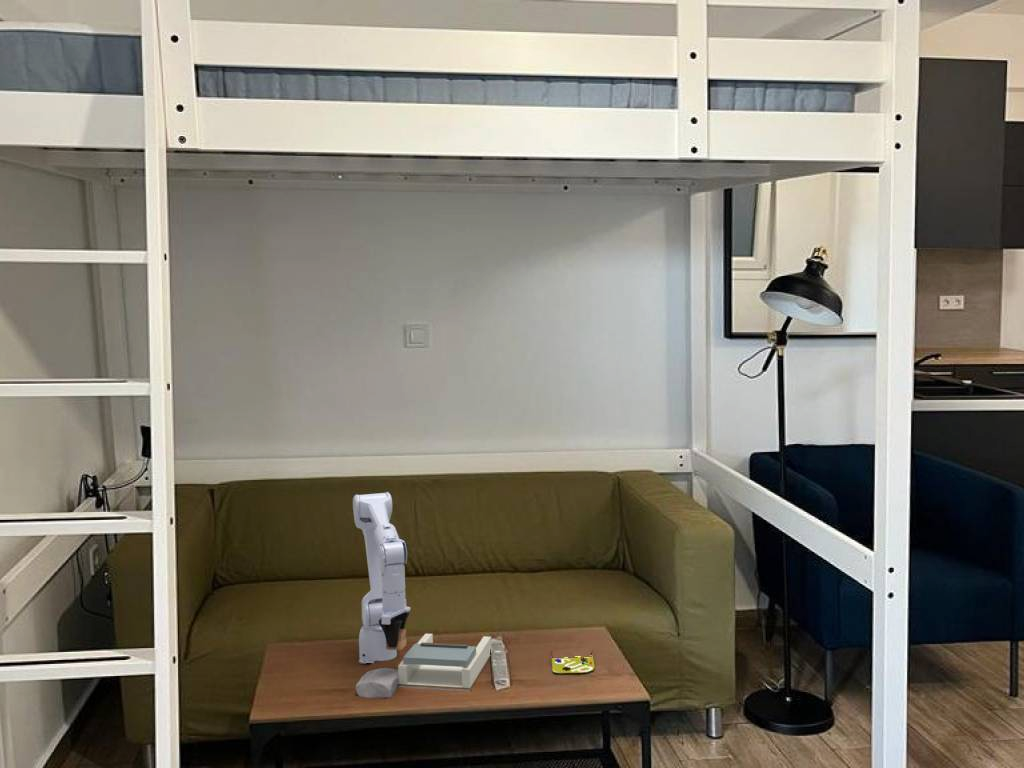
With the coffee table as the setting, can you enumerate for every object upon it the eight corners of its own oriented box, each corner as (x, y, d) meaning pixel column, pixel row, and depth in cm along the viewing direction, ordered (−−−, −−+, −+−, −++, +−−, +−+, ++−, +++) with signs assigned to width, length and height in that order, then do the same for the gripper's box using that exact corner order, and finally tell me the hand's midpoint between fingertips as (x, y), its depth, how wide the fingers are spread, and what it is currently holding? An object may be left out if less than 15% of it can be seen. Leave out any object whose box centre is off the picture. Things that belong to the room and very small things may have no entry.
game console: (549, 652, 271) (549, 646, 271) (591, 651, 271) (591, 646, 271) (552, 677, 253) (552, 671, 253) (597, 676, 253) (597, 671, 253)
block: (386, 649, 249) (385, 633, 248) (390, 644, 253) (390, 628, 252) (401, 650, 248) (401, 634, 248) (406, 644, 252) (405, 629, 252)
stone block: (354, 705, 242) (394, 698, 240) (350, 685, 241) (389, 679, 240) (369, 688, 253) (407, 681, 252) (365, 669, 253) (403, 663, 252)
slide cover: (403, 663, 247) (403, 654, 247) (415, 649, 257) (414, 641, 257) (466, 667, 244) (466, 658, 244) (476, 652, 254) (475, 644, 253)
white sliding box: (398, 687, 247) (398, 665, 246) (425, 653, 270) (425, 633, 270) (470, 691, 243) (469, 669, 243) (491, 656, 267) (491, 636, 266)
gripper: (400, 599, 241) (402, 654, 243) (417, 582, 256) (418, 634, 257) (372, 598, 243) (374, 653, 244) (390, 581, 257) (392, 633, 258)
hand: (395, 643), depth 250 cm, fingers closed on block, 4 cm apart
